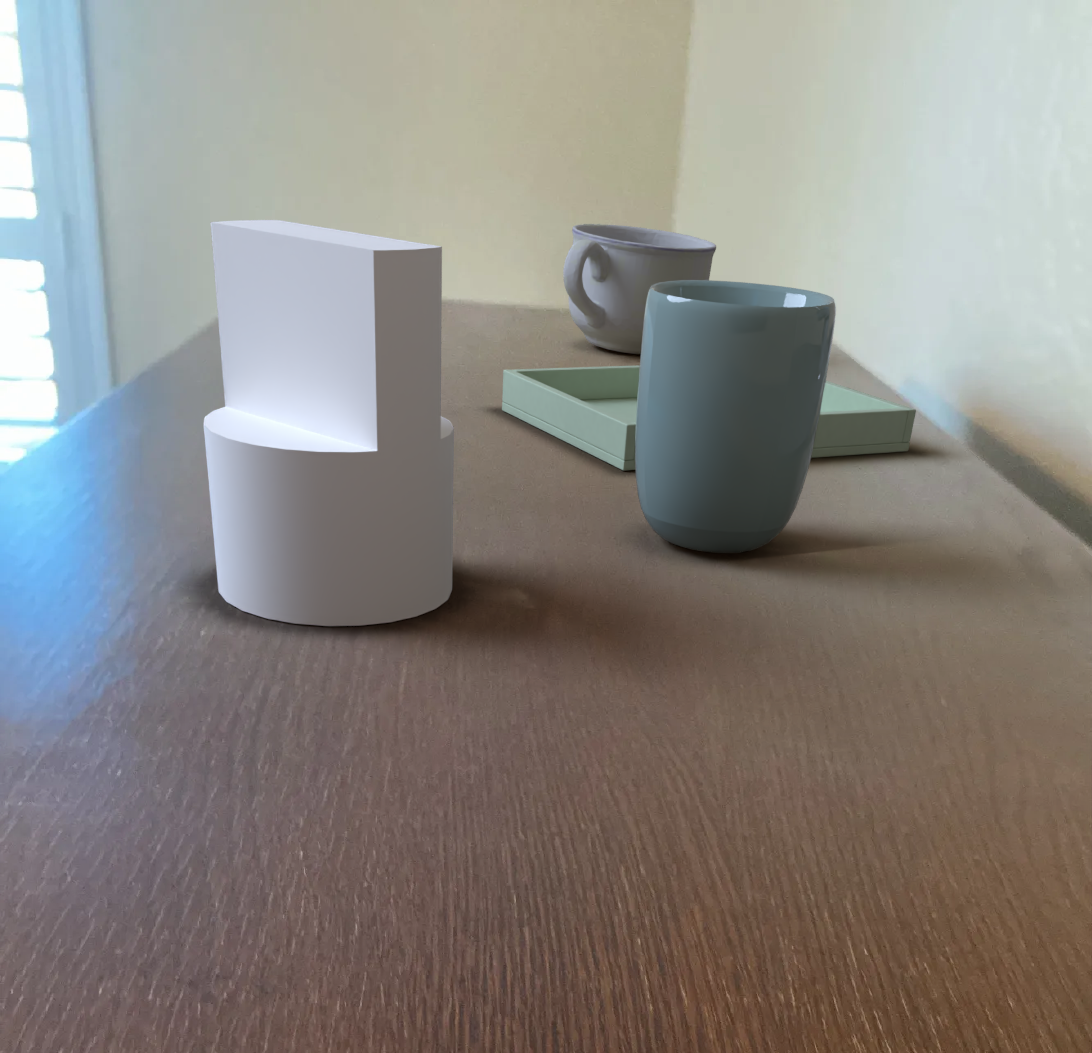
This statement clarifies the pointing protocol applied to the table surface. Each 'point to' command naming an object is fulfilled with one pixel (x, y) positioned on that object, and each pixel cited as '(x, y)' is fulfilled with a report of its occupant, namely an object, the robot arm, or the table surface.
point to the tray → (611, 403)
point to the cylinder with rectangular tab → (329, 426)
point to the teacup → (625, 277)
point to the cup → (728, 408)
